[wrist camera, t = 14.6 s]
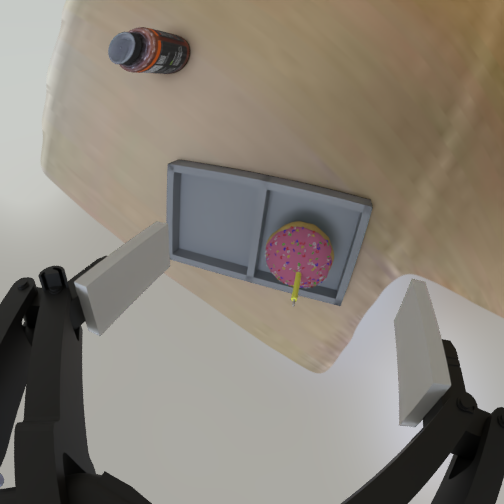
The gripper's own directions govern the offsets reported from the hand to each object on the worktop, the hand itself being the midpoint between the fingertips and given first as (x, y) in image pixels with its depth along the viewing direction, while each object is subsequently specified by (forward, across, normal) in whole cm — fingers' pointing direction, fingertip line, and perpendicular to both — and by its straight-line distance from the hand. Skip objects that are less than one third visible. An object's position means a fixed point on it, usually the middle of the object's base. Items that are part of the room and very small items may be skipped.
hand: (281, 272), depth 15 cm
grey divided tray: (+25, +7, +10) cm, 28 cm away
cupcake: (+25, +1, +10) cm, 27 cm away
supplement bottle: (+25, +22, -14) cm, 36 cm away
